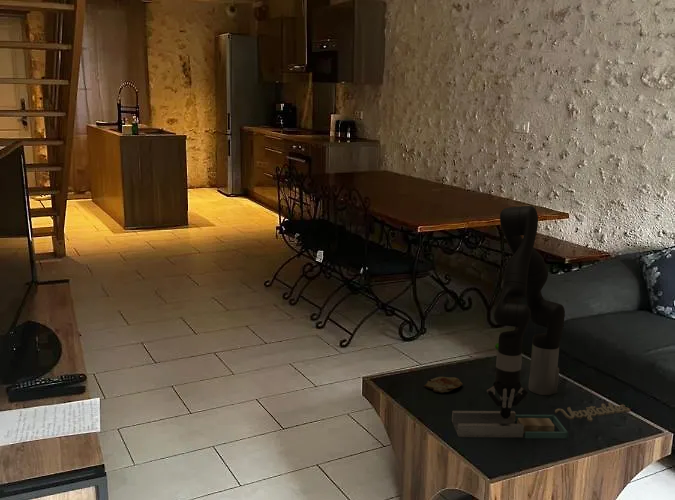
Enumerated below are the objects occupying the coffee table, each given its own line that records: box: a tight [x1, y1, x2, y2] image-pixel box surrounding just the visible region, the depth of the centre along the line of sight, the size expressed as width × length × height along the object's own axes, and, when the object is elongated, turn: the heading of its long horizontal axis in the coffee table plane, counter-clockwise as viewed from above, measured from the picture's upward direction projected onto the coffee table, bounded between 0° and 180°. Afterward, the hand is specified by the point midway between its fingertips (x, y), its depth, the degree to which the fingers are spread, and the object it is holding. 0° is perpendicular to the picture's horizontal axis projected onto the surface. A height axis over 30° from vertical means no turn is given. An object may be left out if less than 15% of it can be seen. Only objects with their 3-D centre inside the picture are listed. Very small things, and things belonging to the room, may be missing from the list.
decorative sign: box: [554, 402, 631, 423], centre depth 220 cm, size 26×1×10 cm
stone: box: [423, 376, 464, 394], centre depth 237 cm, size 13×10×3 cm
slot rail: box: [451, 410, 524, 438], centre depth 205 cm, size 20×11×4 cm, turn 92°
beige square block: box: [516, 418, 538, 434], centre depth 206 cm, size 5×5×3 cm
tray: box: [515, 414, 569, 441], centre depth 206 cm, size 13×12×3 cm
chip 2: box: [534, 418, 556, 432], centre depth 206 cm, size 5×5×3 cm
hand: (504, 417), depth 205 cm, fingers closed
